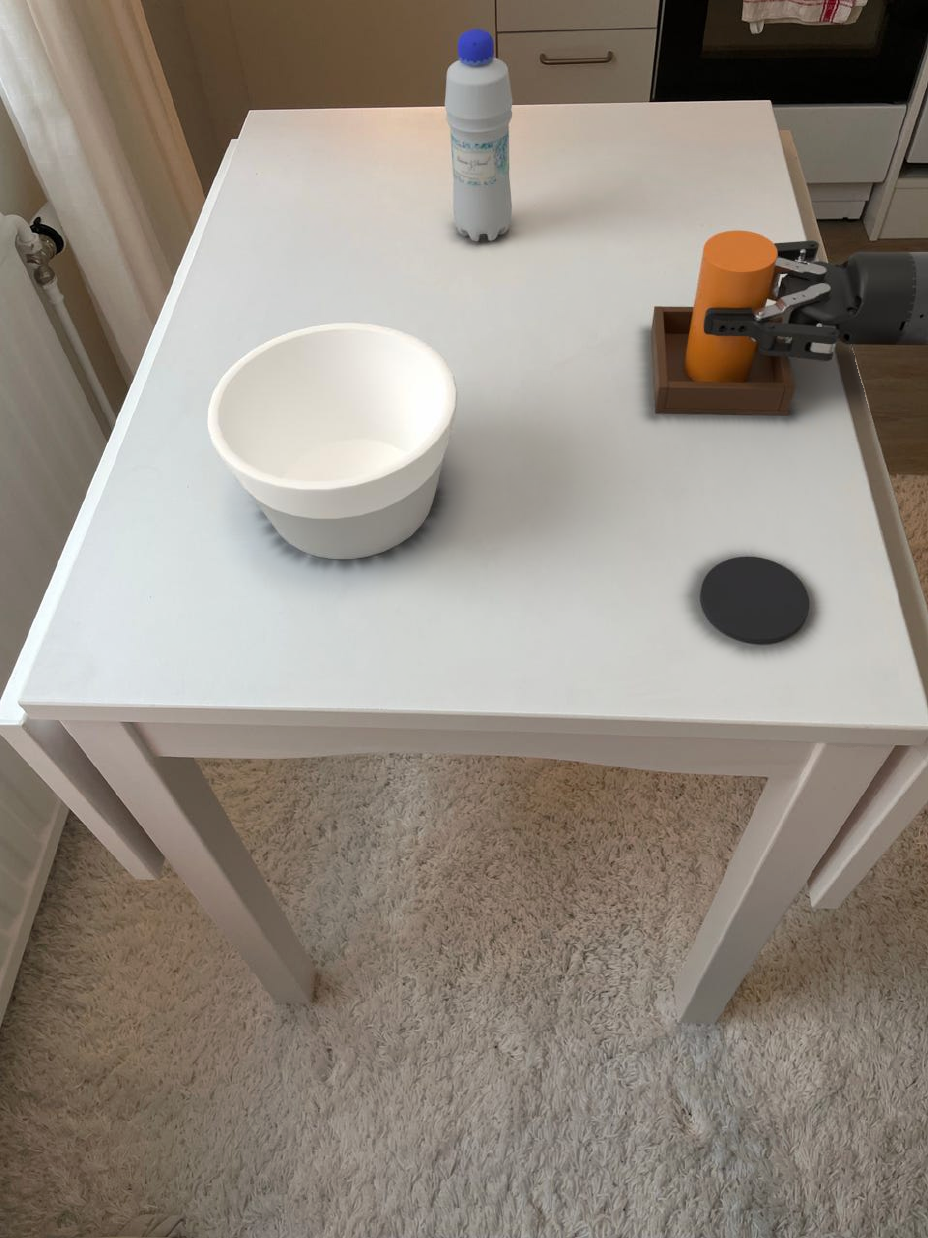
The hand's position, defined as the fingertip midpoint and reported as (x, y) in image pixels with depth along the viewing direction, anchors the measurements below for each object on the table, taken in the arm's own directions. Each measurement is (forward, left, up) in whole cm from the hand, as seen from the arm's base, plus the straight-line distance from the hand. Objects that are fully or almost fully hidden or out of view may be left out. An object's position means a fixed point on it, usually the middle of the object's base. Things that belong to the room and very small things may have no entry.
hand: (703, 297), depth 83 cm
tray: (-2, -1, -8) cm, 8 cm away
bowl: (+22, +26, -8) cm, 35 cm away
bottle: (+28, -15, -8) cm, 32 cm away
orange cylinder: (-2, -1, -8) cm, 8 cm away
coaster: (-12, +24, -8) cm, 28 cm away
